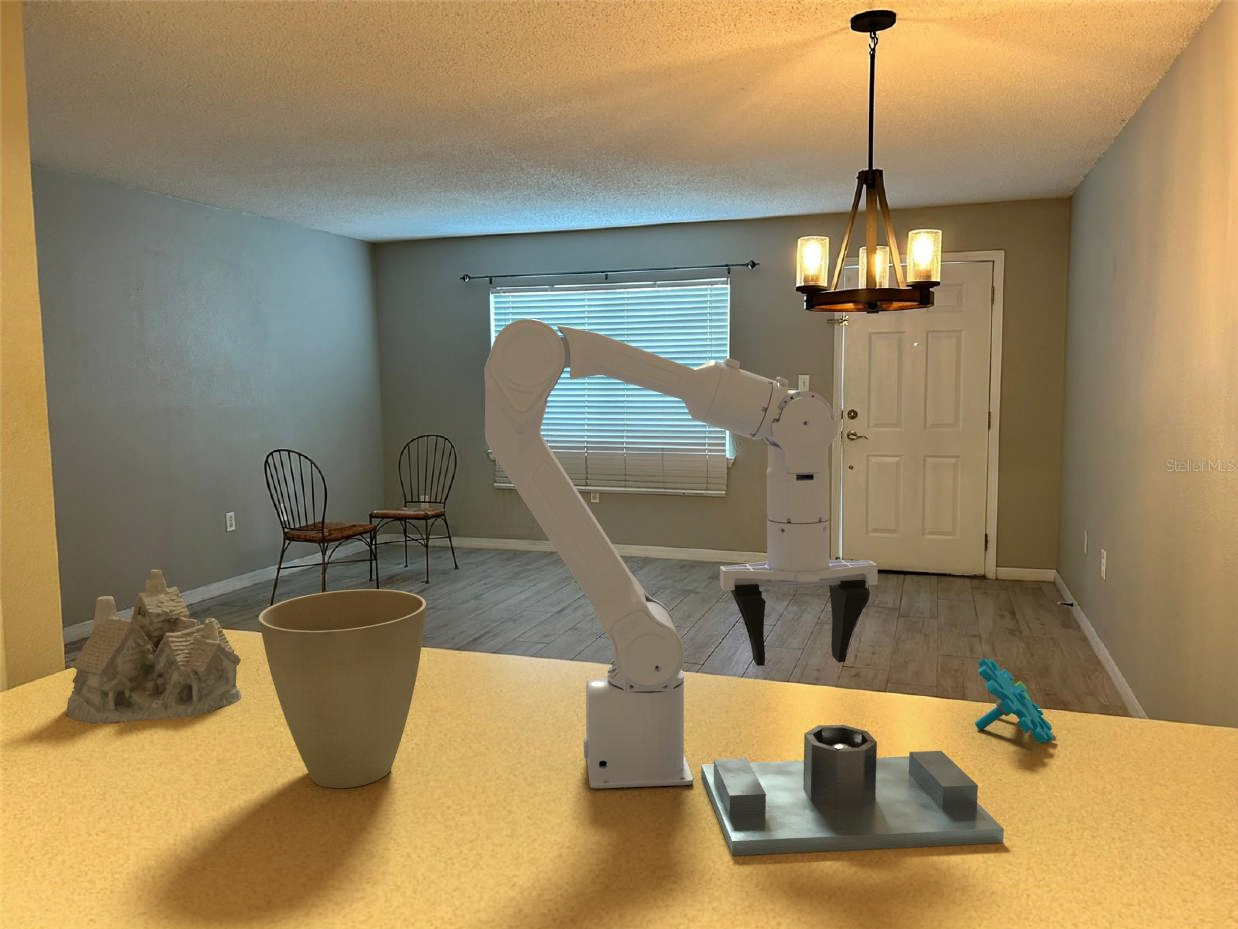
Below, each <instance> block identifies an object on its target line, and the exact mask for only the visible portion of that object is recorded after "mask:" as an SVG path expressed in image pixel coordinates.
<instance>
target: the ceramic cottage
mask: <svg viewBox="0 0 1238 929" xmlns="http://www.w3.org/2000/svg"><path fill="white" fill-rule="evenodd" d="M144 589H145V591H144V592H138V593H137V598H136V601H135V603H134V606H133V607H134V608H133V609H132V610H133V611H132V612H133V613H132V615H131V617H130V619H131V620H130V619H124V618H119V617H118V610H117V608H116V602H115V599H114V597H113V595H112V596H111V595H110V596H109V595H104V596H99V597H97V598H96V601H95V611H94V612H95V613H94V618H93V625H92V631H91V632H92V633H91V634H90V635H89V638H88V639H87V641H86V642H85V644H83V645H82V647H81V650H80V652H79V653H78V654H77V656H76V657H75V660H73V661H72V662H71V663H70V664H69V666H70V667H72V668H73V669H75V670H76V673H75V676H74V677H73V679H72V683H73V687H72V688H73V690H72V691H71V694H70V696H69V697H67V706H66V713H65V714H66V715H65V716H66V717H67V718H69V719H71V720H74V721H77V722H82V723H86V722H87V723H89V722H90V723H91V724H98V725H99V724H109V723H111V724H112V723H120V722H121V723H122V722H123V723H125V722H127V723H128V722H139V721H142V722H143V721H147V720H148V721H150V720H153V721H155V720H168V719H170V720H171V719H179V718H180V719H183V718H192V717H196V716H197V717H198V716H201V715H204V714H208V713H209V714H210V713H211V712H214V710H217V709H218V708H219V709H220V708H224V707H228V706H230V705H234V704H236V703H238V701H240V700H241V699H242V694H241V691H240V689H239V688H238V687H237V673H238V672H237V671H238V670H237V667H238V666H239V665H240V664H241V661H242V659H241V658H240V656H239V655H238V654H237V653H235V650H234V649H233V647H232V645H231V644H230V641H229V640H228V638H227V637H226V634H225V633H224V631H223V629H222V627H221V624H220V623H219V621H218V619H216V618H214V617H210V618H206V619H204V621H203V624H201V623H200V621H199V620H197V619H193V618H190V615H191V613H190V611H189V610H188V607H187V605H186V603H185V601H184V599H183V596H182V595H181V593H180V592H181V591H180V590H179V588H178V587H177V586H174V587H169V588H168V587H167V584H166V580H165V578H164V576H163V572H162V569H151V570H150V578H149V579H148V578H147V579H146V581H145V585H144Z"/></svg>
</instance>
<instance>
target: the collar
mask: <svg viewBox="0 0 1238 929" xmlns="http://www.w3.org/2000/svg"><path fill="white" fill-rule="evenodd" d="M803 734H804V737H803V738H804V742H803V744H804V746H803V748H804V749H803V760H804V790H805V791H806V793H807V795H808V796H809V798H810V800H811V801H814V802H817V803H820V804H823V805H826V806H828V807H831V808H834V809H850V808H864V807H865V806H866V805H867V804H869V803H870V802H871V801H873V800H874V799H875V798H876V761H877V758H878V755H877V754H878V752H877V751H878V749H877V748H878V742H877V741H876V740H875V738H874V737H873V736H872V735H871V734H870V732H868V731H867V730H864V729H860V728H856V727H854V726H849V725H846V724H827V725H826V724H825V725H823V724H822V725H816V726H814V727H813V728H811V729H810V730H808V731H806V732H804V733H803ZM836 744H846V745H848V746H850V747H851V748H835V747H832V746H833V745H836Z"/></svg>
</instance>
